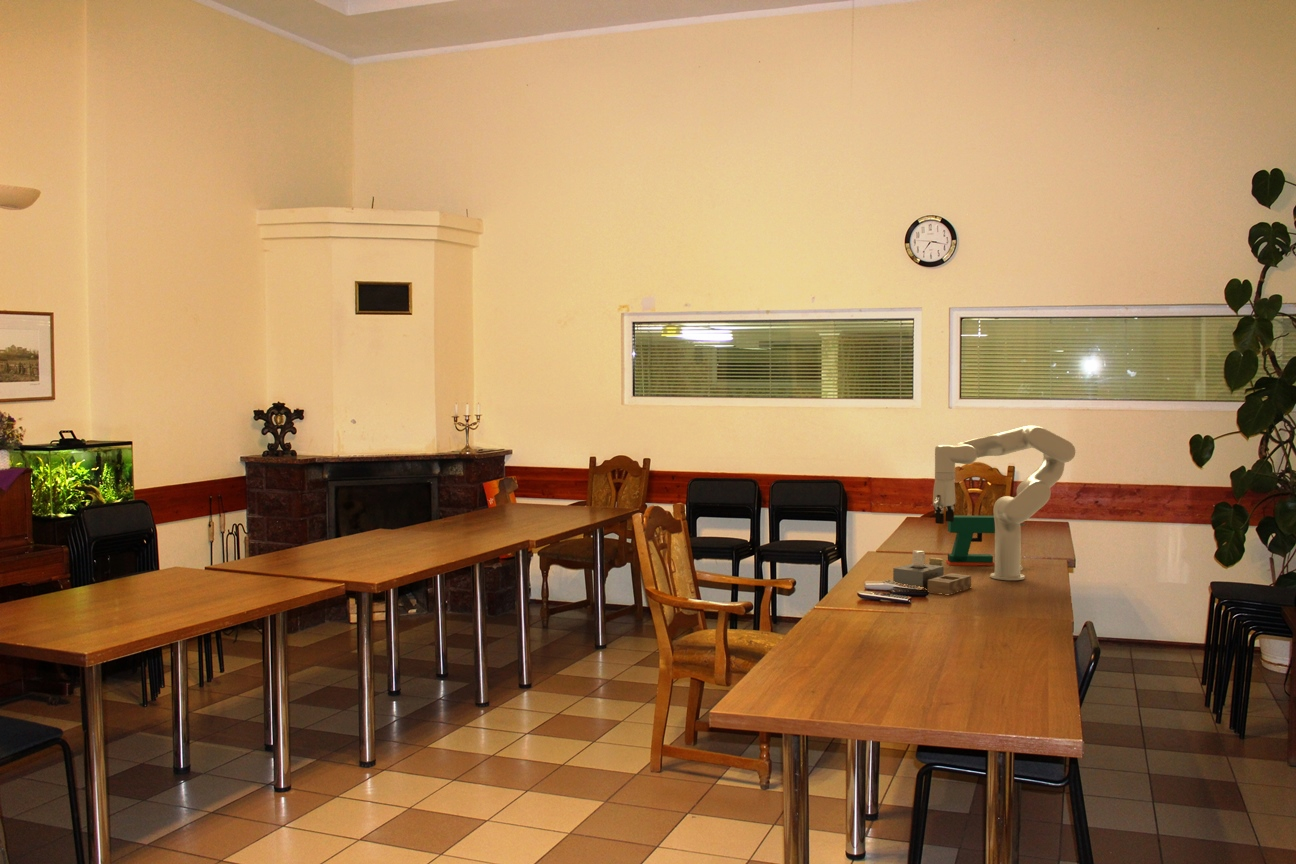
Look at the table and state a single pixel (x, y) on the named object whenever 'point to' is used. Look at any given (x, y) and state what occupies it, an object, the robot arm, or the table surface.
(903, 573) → the socket block
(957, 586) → the block
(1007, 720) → the table surface
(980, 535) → the power tool
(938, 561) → the drift key
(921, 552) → the cream post
